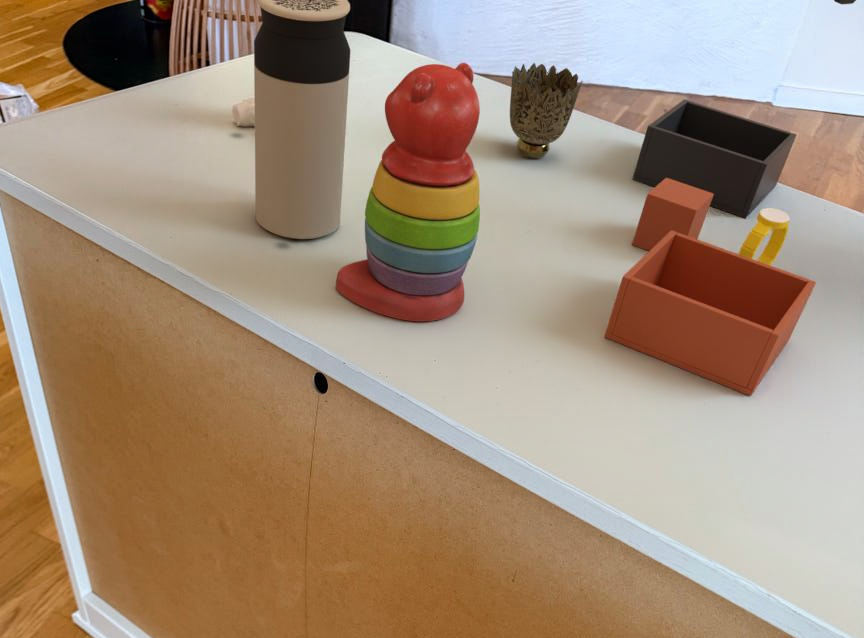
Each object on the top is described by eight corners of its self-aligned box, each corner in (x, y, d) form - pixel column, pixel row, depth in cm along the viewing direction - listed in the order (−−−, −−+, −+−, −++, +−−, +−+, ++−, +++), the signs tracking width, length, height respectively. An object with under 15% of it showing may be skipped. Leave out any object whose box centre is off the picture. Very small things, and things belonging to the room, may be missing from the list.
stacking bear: (416, 253, 85) (444, 34, 72) (493, 302, 81) (538, 78, 67) (325, 284, 80) (337, 53, 67) (402, 338, 76) (431, 102, 62)
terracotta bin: (788, 340, 82) (816, 281, 77) (750, 396, 75) (779, 335, 71) (651, 288, 85) (671, 229, 81) (603, 337, 79) (622, 276, 75)
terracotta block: (695, 244, 92) (714, 193, 89) (678, 261, 89) (696, 210, 86) (650, 227, 94) (666, 177, 90) (631, 244, 91) (647, 193, 87)
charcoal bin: (776, 185, 104) (797, 134, 100) (745, 218, 98) (767, 164, 93) (668, 150, 108) (684, 99, 104) (632, 179, 101) (647, 125, 97)
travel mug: (357, 226, 88) (373, 5, 74) (297, 250, 83) (303, 21, 70) (298, 195, 91) (304, -22, 77) (238, 217, 87) (232, -9, 73)
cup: (493, 138, 105) (507, 59, 99) (555, 142, 106) (572, 64, 100) (506, 166, 100) (521, 85, 94) (570, 169, 102) (589, 89, 96)
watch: (754, 261, 91) (779, 200, 87) (778, 273, 90) (805, 212, 85) (721, 277, 88) (745, 215, 84) (745, 290, 87) (771, 228, 82)
